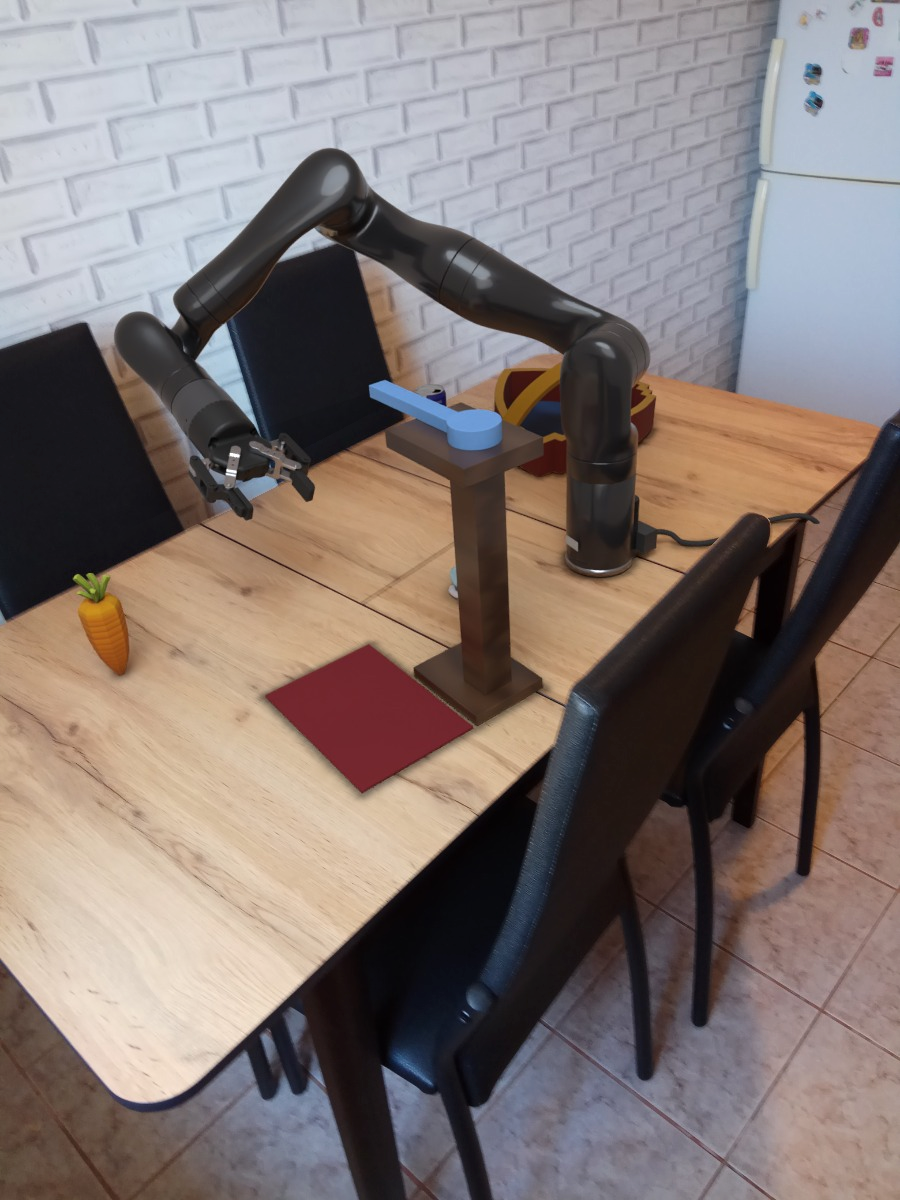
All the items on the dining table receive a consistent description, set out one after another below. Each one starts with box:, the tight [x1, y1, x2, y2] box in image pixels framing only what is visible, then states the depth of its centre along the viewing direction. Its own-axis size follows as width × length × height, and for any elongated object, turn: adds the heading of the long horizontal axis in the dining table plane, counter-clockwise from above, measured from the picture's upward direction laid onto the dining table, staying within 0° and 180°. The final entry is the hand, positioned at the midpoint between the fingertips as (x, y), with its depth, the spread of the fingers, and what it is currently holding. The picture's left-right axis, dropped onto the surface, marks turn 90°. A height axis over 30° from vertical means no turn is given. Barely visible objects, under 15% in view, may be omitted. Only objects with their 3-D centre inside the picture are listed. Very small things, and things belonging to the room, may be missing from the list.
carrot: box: [72, 572, 130, 676], centre depth 112 cm, size 5×5×15 cm
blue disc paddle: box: [368, 379, 502, 451], centre depth 96 cm, size 5×20×2 cm, turn 38°
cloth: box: [264, 643, 474, 794], centre depth 107 cm, size 15×21×1 cm
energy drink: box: [414, 383, 448, 407], centre depth 161 cm, size 5×5×12 cm
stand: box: [384, 402, 543, 727], centre depth 102 cm, size 10×13×32 cm
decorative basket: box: [493, 361, 657, 478], centre depth 163 cm, size 34×29×15 cm
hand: (281, 505), depth 112 cm, fingers open, 8 cm apart
